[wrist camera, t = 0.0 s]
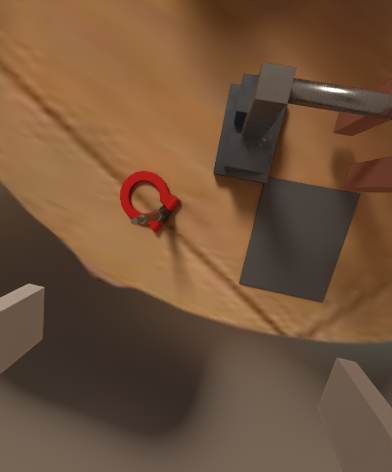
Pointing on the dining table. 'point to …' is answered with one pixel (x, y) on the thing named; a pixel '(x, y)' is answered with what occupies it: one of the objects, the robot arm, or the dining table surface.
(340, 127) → the reddish-brown c-shaped bracket
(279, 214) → the mat
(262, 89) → the toilet paper holder
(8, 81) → the dining table surface
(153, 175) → the tow hook
